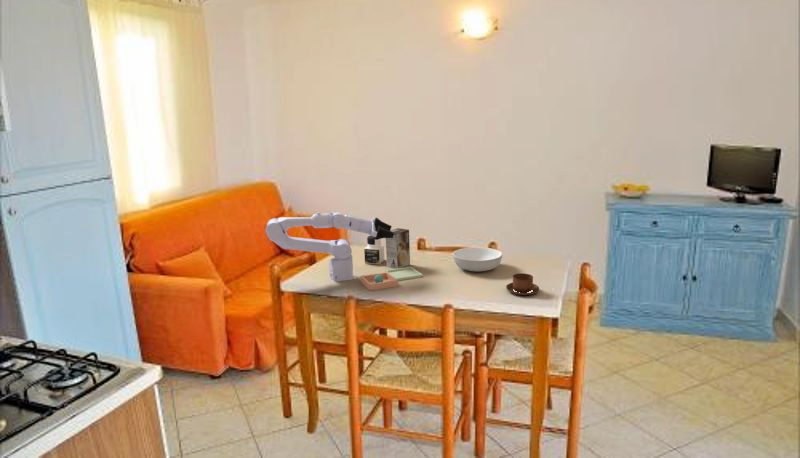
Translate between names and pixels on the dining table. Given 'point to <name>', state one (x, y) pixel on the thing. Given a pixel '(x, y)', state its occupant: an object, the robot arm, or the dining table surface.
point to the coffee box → (398, 249)
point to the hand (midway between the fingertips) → (392, 231)
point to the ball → (378, 278)
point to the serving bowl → (477, 258)
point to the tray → (404, 273)
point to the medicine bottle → (374, 251)
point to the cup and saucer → (522, 284)
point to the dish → (372, 285)
